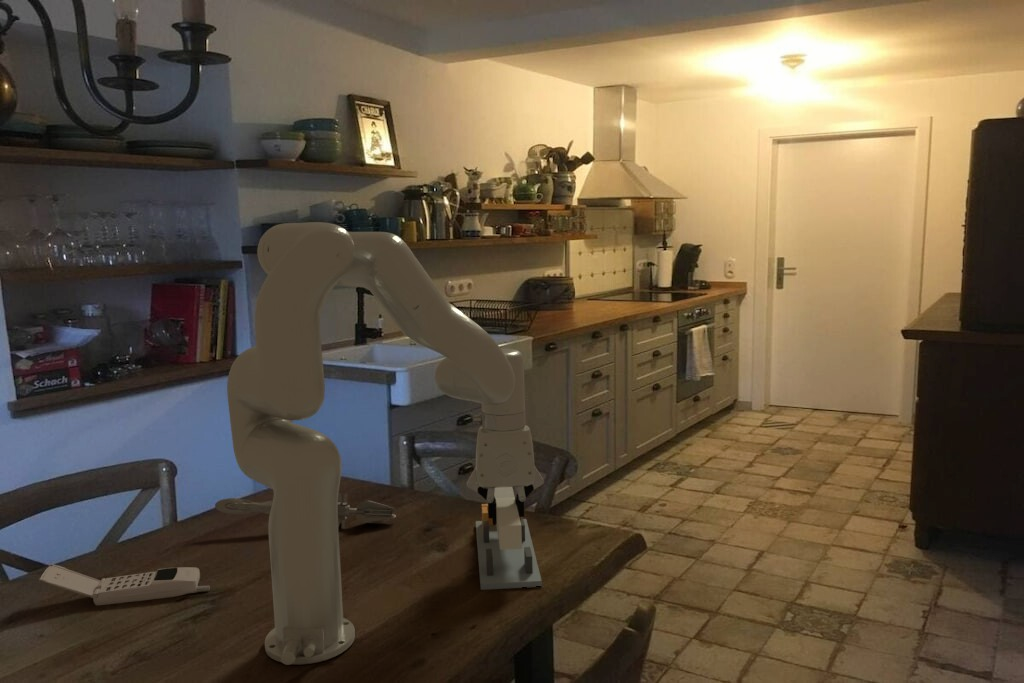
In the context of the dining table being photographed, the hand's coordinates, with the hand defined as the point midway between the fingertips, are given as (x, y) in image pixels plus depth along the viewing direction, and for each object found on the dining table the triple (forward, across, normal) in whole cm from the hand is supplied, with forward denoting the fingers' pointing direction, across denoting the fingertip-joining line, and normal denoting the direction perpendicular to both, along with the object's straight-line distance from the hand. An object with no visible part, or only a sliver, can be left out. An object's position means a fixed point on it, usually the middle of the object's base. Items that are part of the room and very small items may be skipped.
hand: (506, 520), depth 144 cm
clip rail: (+7, 0, +2) cm, 7 cm away
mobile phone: (+7, -62, -8) cm, 63 cm away
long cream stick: (+1, 0, 0) cm, 1 cm away
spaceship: (+7, -38, +19) cm, 43 cm away
